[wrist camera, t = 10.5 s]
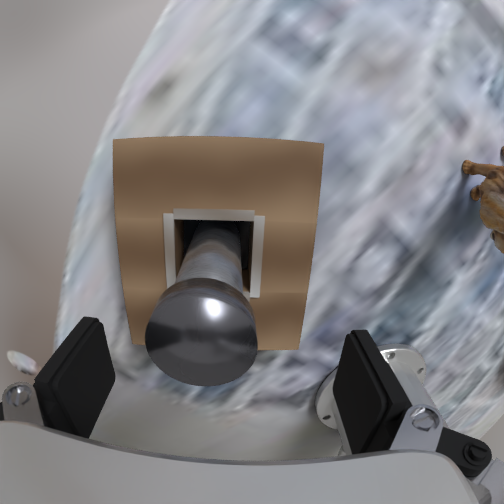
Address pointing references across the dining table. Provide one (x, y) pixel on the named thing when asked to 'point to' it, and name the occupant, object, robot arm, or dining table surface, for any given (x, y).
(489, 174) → the lion figurine
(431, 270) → the dining table surface
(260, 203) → the block
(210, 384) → the key peg
